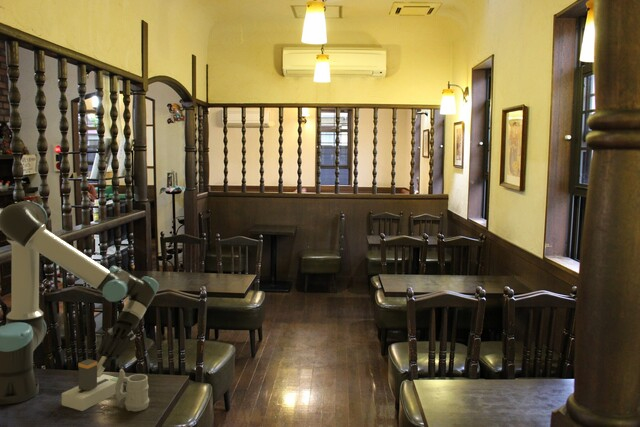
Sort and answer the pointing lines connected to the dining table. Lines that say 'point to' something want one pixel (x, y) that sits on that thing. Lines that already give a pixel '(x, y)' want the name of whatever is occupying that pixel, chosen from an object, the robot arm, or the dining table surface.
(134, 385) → the mug
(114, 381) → the switch box
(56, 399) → the dining table surface
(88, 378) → the lever
